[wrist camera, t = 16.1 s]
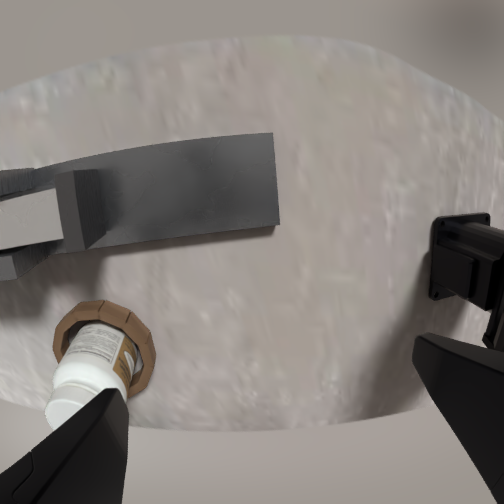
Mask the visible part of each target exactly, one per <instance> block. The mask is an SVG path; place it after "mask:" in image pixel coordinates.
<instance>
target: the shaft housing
mask: <svg viewBox="0 0 504 504" xmlns="http://www.w3.org/2000/svg"><path fill="white" fill-rule="evenodd" d="M87 169H97V170H98V178H99V187H100V194H101V201H102V208H103V215H104V221H105V227H106V233H107V234H106V235H104V236H103V237H102V238H101V239H99V240H98V241H97V242H95V243H94V244H93V245H92V246H90V247H89V248H88V249H94V248H101V247H108V246H115V245H122V244H129V243H137V242H144V241H152V240H159V239H167V238H175V237H182V236H190V235H198V234H206V233H215V232H223V231H231V230H240V229H248V228H257V227H266V226H275V225H280V218H279V204H278V191H277V178H276V165H275V153H274V141H273V133H258V134H244V135H232V136H221V137H211V138H201V139H193V140H185V141H177V142H169V143H162V144H155V145H149V146H143V147H137V148H131V149H125V150H119V151H114V152H109V153H104V154H99V155H94V156H89V157H84V158H80V159H75V160H71V161H66V162H62V163H58V164H54V165H50V166H46V167H42V168H38V169H34V168H26V169H13V170H2V171H0V202H1V201H5V200H9V199H13V198H16V197H20V196H24V195H28V194H33V193H37V192H41V191H45V190H50V189H54V188H55V180H54V175H55V174H60V173H64V172H68V171H73V170H87ZM60 253H66V248H65V243H64V238H63V239H57V240H51V241H45V242H40V243H34V244H28V245H23V246H17V247H12V248H6V249H1V250H0V281H5V280H13V279H18V278H19V277H21V276H22V275H23V274H25V273H26V272H28V271H29V270H30V269H32V268H33V267H35V266H36V265H37V264H39V263H40V262H42V261H43V260H45V259H46V258H47V257H48V255H53V254H60Z"/></svg>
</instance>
